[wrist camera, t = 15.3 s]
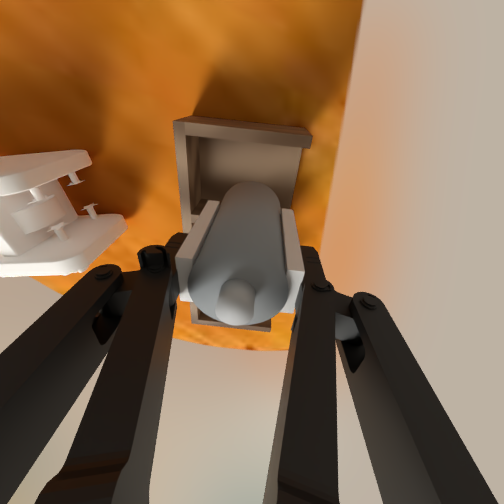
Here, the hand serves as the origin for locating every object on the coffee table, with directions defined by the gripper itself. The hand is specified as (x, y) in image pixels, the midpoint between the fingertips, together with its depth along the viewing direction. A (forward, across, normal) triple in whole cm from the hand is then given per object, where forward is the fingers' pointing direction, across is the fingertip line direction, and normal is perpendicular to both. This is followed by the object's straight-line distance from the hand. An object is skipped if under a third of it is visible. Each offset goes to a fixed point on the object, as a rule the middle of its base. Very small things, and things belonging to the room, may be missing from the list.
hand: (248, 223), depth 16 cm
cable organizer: (+14, -25, -6) cm, 29 cm away
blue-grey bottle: (+2, 0, 0) cm, 2 cm away
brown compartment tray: (+13, -2, -9) cm, 16 cm away
